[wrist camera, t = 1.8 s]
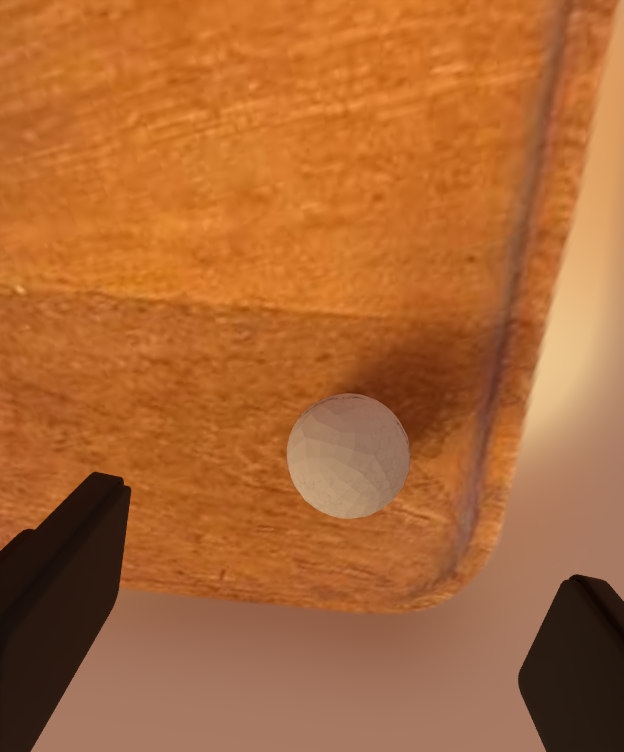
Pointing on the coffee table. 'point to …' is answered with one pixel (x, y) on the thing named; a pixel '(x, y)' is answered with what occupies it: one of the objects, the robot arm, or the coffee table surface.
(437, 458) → the coffee table surface
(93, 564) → the robot arm
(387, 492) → the golf ball
